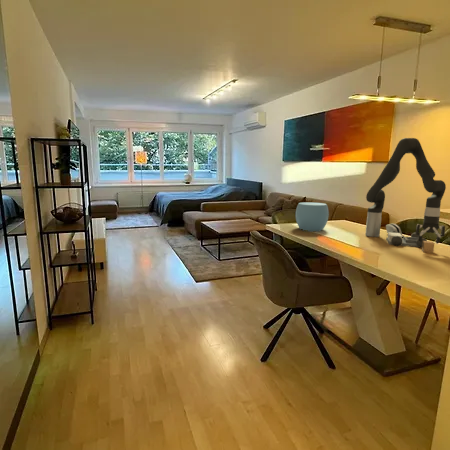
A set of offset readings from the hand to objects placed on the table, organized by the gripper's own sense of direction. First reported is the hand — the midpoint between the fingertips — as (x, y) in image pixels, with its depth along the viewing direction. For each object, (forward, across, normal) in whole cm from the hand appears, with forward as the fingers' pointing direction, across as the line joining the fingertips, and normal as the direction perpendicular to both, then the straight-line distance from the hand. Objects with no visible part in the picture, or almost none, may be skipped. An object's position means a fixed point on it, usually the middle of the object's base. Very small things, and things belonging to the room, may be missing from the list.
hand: (428, 242), depth 190 cm
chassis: (+5, -8, +20) cm, 23 cm away
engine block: (+6, 0, 0) cm, 6 cm away
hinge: (+5, -12, +45) cm, 47 cm away
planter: (+5, -71, +45) cm, 84 cm away
